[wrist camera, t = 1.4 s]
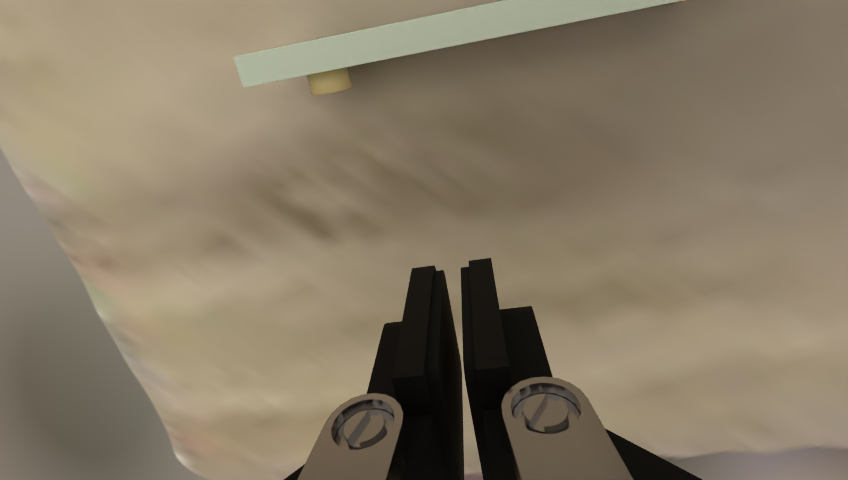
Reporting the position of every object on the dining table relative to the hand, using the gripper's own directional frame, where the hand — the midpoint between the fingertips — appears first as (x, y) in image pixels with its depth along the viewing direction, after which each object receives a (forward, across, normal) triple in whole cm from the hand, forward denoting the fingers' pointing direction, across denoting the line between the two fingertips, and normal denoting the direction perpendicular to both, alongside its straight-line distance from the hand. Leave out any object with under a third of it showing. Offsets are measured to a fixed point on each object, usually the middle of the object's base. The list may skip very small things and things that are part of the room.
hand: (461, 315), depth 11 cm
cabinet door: (+21, -3, -6) cm, 22 cm away
